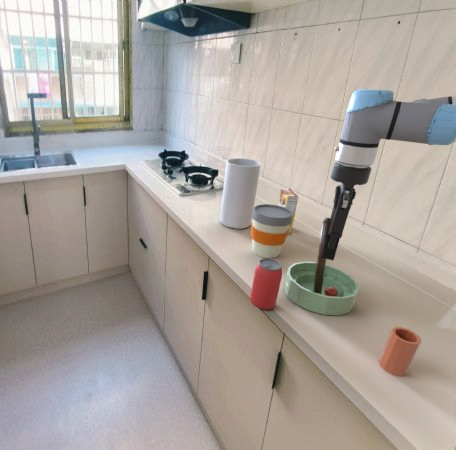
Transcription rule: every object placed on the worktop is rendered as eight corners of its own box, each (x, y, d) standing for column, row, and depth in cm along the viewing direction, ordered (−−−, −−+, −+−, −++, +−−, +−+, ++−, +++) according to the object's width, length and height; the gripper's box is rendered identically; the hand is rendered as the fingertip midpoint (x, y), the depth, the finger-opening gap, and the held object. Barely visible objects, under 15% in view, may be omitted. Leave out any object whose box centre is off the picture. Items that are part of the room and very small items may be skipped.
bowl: (350, 289, 96) (356, 271, 94) (354, 326, 82) (361, 306, 79) (287, 273, 103) (290, 256, 100) (279, 305, 88) (284, 285, 86)
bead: (336, 296, 92) (339, 286, 90) (336, 302, 89) (339, 292, 88) (323, 292, 93) (326, 283, 92) (323, 299, 90) (325, 289, 89)
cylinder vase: (213, 218, 140) (220, 159, 130) (239, 215, 144) (247, 157, 134) (230, 231, 129) (238, 167, 119) (257, 227, 134) (267, 165, 123)
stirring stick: (320, 293, 90) (332, 216, 82) (320, 297, 88) (332, 219, 80) (312, 292, 91) (323, 215, 83) (312, 296, 89) (323, 218, 81)
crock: (403, 364, 71) (418, 331, 68) (407, 381, 67) (423, 347, 64) (377, 356, 73) (390, 324, 69) (379, 372, 69) (393, 339, 65)
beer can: (244, 301, 89) (251, 262, 84) (258, 292, 93) (266, 254, 88) (265, 314, 85) (274, 273, 80) (280, 304, 89) (289, 265, 84)
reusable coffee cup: (269, 264, 107) (277, 221, 101) (238, 248, 117) (244, 208, 110) (292, 254, 114) (301, 213, 108) (261, 240, 123) (268, 201, 117)
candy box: (273, 223, 138) (280, 188, 131) (284, 224, 137) (291, 188, 131) (279, 233, 129) (287, 195, 123) (291, 233, 129) (299, 196, 123)
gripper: (334, 155, 83) (312, 241, 92) (334, 168, 70) (309, 266, 80) (369, 159, 80) (343, 247, 89) (375, 174, 67) (345, 274, 77)
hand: (327, 256), depth 85 cm, fingers closed on stirring stick, 2 cm apart
